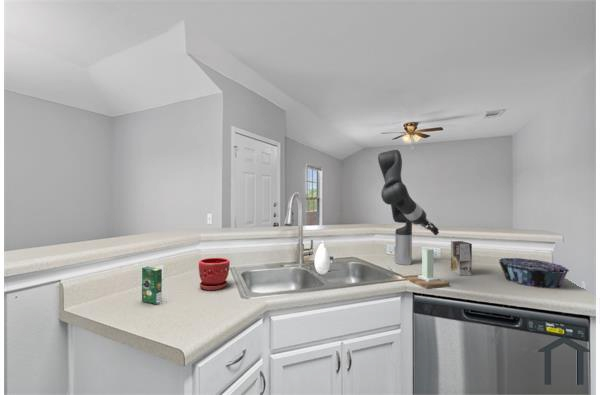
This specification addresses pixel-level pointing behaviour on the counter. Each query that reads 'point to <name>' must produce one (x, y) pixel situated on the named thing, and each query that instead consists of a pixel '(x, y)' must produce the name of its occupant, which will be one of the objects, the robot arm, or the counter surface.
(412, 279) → the wooden cutting board
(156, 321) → the counter surface
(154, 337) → the counter surface
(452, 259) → the coffee box
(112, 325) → the counter surface
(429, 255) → the mint green tall block
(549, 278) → the decorative bowl
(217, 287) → the plant pot
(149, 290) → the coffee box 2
